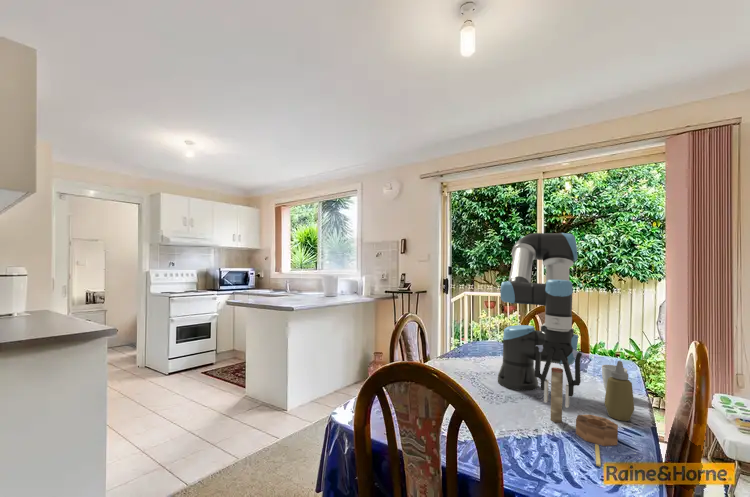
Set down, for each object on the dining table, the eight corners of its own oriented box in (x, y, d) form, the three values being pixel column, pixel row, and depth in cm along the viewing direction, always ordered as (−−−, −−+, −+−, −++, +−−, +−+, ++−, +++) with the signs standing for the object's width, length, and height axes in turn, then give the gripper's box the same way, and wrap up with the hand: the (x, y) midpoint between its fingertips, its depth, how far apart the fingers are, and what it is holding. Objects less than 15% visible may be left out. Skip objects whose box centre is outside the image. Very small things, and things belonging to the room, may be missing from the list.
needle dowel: (549, 421, 113) (550, 369, 113) (551, 417, 116) (552, 366, 116) (561, 424, 111) (562, 371, 111) (562, 420, 114) (563, 368, 114)
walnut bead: (574, 437, 103) (574, 423, 103) (578, 425, 111) (578, 411, 111) (617, 449, 97) (617, 434, 97) (617, 435, 105) (618, 421, 105)
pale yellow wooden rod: (600, 466, 88) (600, 464, 88) (596, 465, 89) (596, 463, 89) (598, 446, 98) (598, 445, 98) (595, 445, 98) (595, 444, 98)
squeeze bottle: (635, 425, 112) (636, 366, 112) (604, 418, 116) (605, 361, 116) (633, 416, 119) (634, 360, 119) (604, 409, 123) (605, 356, 123)
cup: (631, 399, 133) (631, 372, 134) (606, 397, 135) (607, 369, 135) (620, 391, 141) (621, 365, 142) (597, 389, 143) (598, 363, 143)
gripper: (524, 326, 116) (522, 399, 116) (590, 335, 106) (589, 415, 105) (529, 323, 122) (528, 393, 122) (592, 331, 112) (591, 407, 111)
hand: (556, 403), depth 114 cm, fingers open, 5 cm apart
